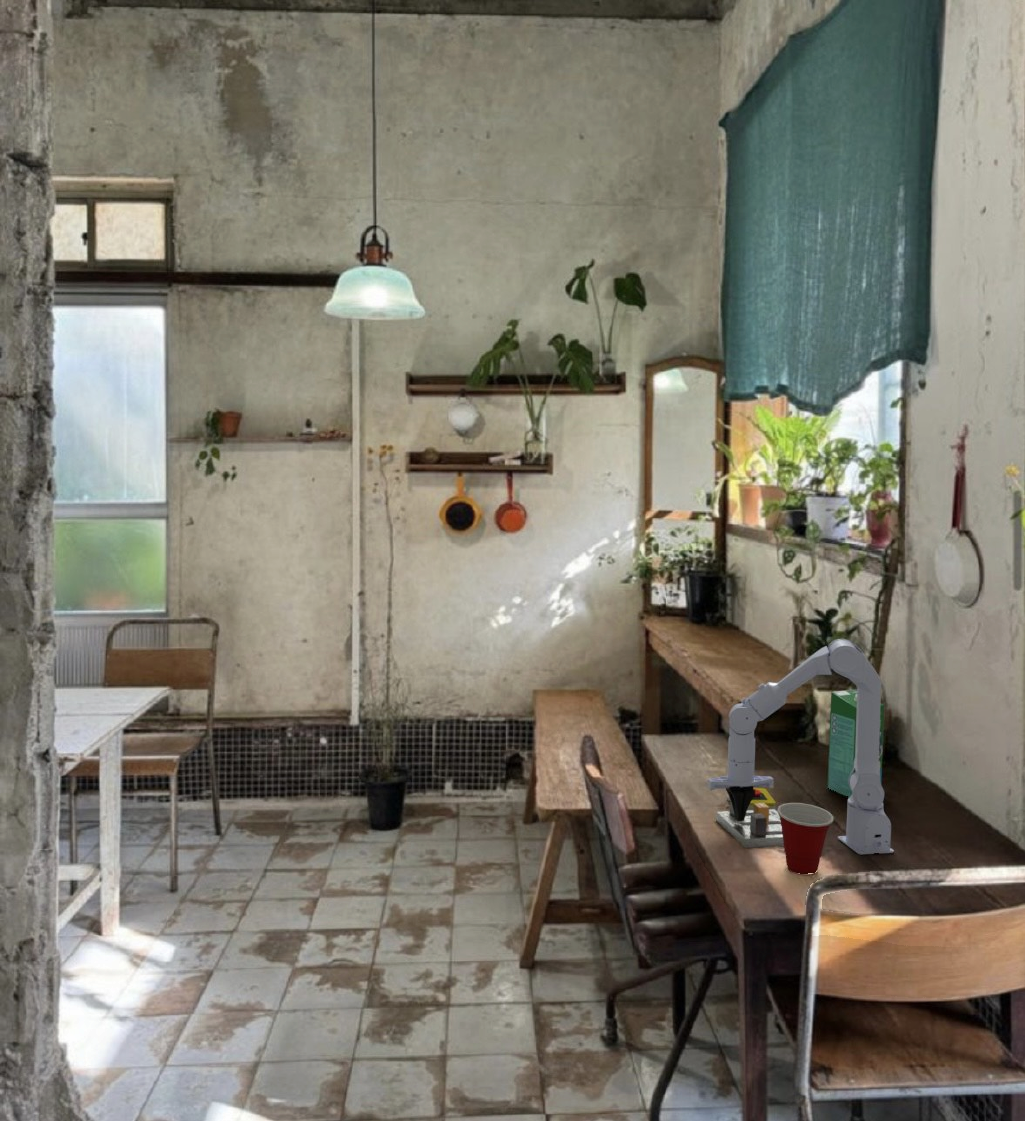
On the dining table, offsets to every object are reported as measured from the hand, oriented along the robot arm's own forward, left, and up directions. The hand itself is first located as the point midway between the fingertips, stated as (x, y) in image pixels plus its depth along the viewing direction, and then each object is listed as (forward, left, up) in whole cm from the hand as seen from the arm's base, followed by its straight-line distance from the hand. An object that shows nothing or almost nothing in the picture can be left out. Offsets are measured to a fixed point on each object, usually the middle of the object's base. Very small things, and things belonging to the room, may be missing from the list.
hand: (739, 819), depth 215 cm
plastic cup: (-21, -5, -3) cm, 22 cm away
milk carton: (+24, -40, -3) cm, 47 cm away
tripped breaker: (0, -5, -1) cm, 5 cm away
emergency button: (+17, -10, -4) cm, 20 cm away
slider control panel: (0, -5, -3) cm, 6 cm away
